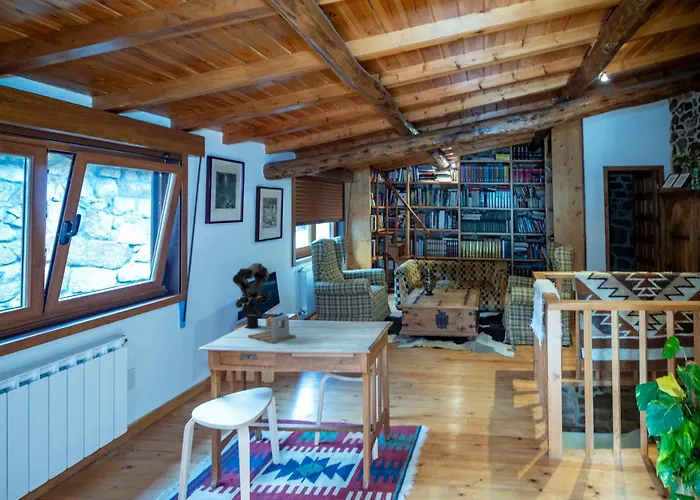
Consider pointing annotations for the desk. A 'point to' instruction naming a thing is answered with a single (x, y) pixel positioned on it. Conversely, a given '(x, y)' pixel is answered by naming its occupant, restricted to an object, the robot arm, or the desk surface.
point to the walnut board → (268, 337)
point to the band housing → (279, 331)
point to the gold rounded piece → (270, 320)
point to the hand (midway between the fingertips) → (260, 312)
